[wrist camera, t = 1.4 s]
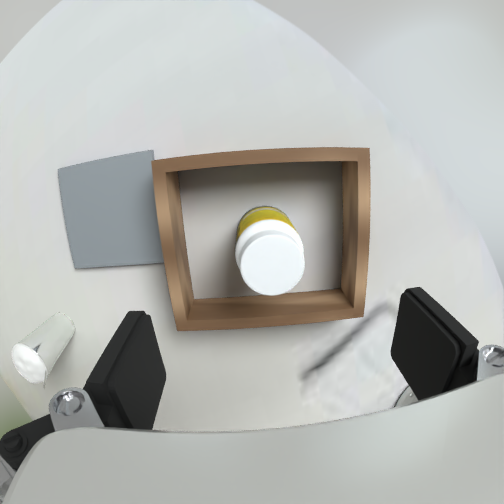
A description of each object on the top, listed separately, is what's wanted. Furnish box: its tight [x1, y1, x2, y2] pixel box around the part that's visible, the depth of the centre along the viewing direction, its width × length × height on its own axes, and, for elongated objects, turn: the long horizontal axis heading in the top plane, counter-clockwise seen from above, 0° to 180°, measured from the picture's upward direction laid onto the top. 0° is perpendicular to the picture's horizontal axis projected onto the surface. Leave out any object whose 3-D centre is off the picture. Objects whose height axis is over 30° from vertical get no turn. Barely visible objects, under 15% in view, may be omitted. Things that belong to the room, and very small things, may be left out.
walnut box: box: [151, 147, 370, 331], centre depth 24 cm, size 14×16×4 cm
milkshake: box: [11, 312, 75, 389], centre depth 24 cm, size 4×5×10 cm
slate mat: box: [58, 150, 164, 268], centre depth 25 cm, size 10×10×1 cm
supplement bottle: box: [235, 205, 305, 296], centre depth 22 cm, size 5×5×8 cm
